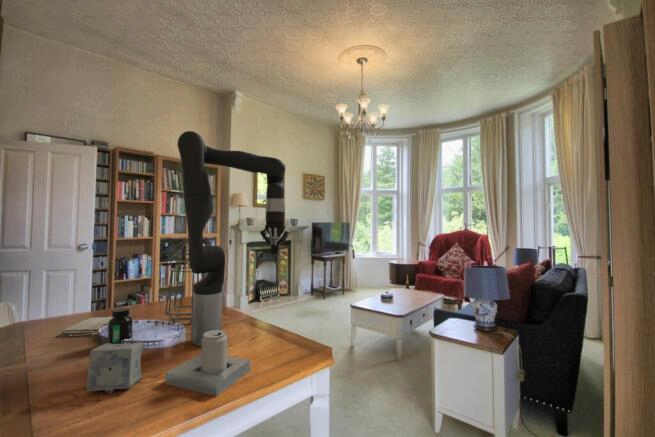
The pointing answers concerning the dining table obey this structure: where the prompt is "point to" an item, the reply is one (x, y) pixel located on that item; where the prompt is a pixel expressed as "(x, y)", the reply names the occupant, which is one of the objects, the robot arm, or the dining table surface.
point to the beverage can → (214, 352)
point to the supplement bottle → (120, 326)
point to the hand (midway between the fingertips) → (274, 254)
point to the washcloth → (87, 327)
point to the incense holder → (114, 366)
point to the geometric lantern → (178, 280)
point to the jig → (207, 375)
